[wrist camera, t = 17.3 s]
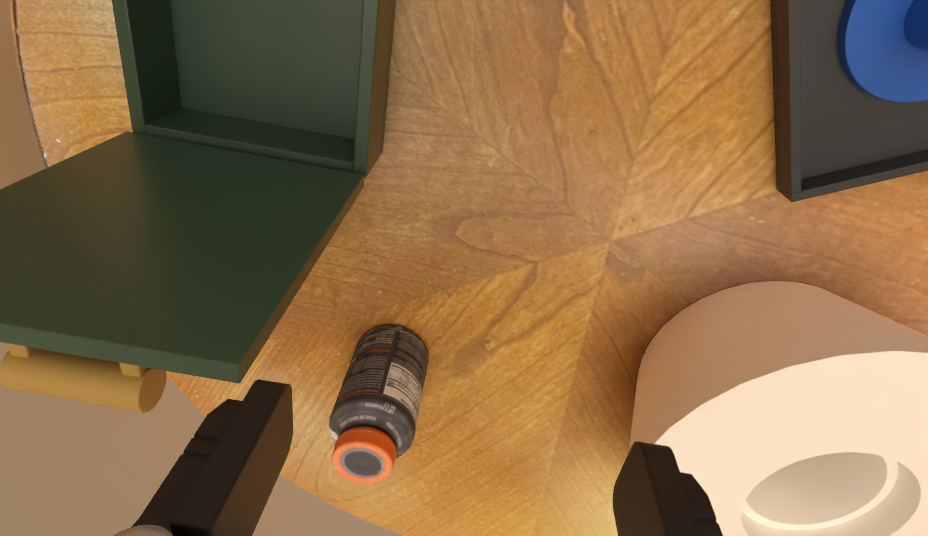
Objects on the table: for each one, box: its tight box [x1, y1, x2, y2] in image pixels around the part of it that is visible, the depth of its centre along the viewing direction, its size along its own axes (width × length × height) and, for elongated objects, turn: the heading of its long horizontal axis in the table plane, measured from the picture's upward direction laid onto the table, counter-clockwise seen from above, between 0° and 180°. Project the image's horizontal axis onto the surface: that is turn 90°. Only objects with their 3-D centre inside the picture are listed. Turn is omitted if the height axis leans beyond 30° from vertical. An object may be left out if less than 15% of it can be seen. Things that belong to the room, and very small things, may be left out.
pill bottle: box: [329, 325, 428, 484], centre depth 39 cm, size 6×6×11 cm
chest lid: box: [0, 132, 364, 413], centre depth 24 cm, size 16×14×5 cm
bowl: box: [628, 281, 928, 536], centre depth 37 cm, size 24×24×12 cm
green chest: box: [112, 0, 396, 177], centre depth 29 cm, size 16×14×5 cm
